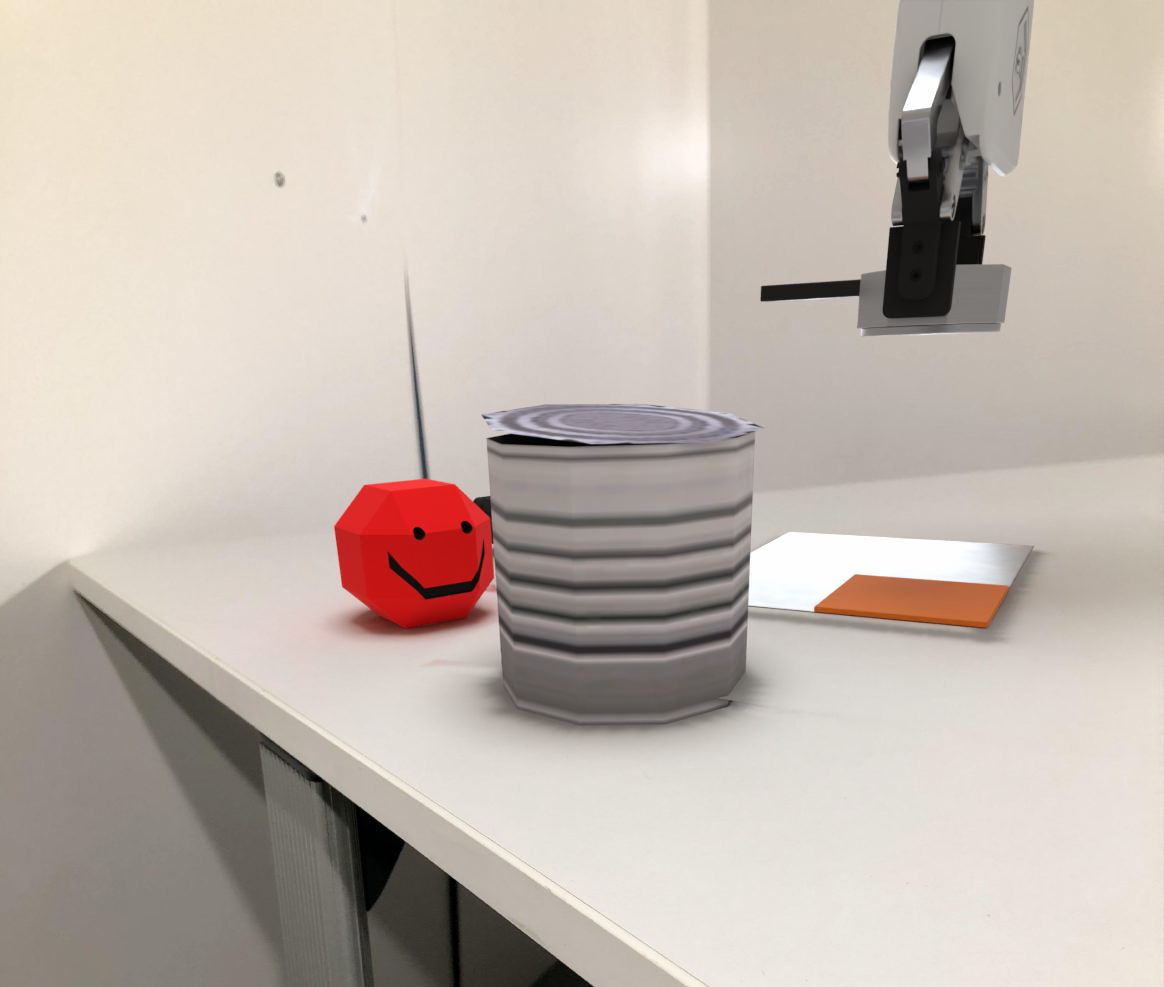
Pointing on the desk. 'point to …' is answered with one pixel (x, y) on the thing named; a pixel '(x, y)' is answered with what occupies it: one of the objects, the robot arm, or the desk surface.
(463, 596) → the ball
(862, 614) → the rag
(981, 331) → the pan
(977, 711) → the desk surface
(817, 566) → the board
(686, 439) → the can
